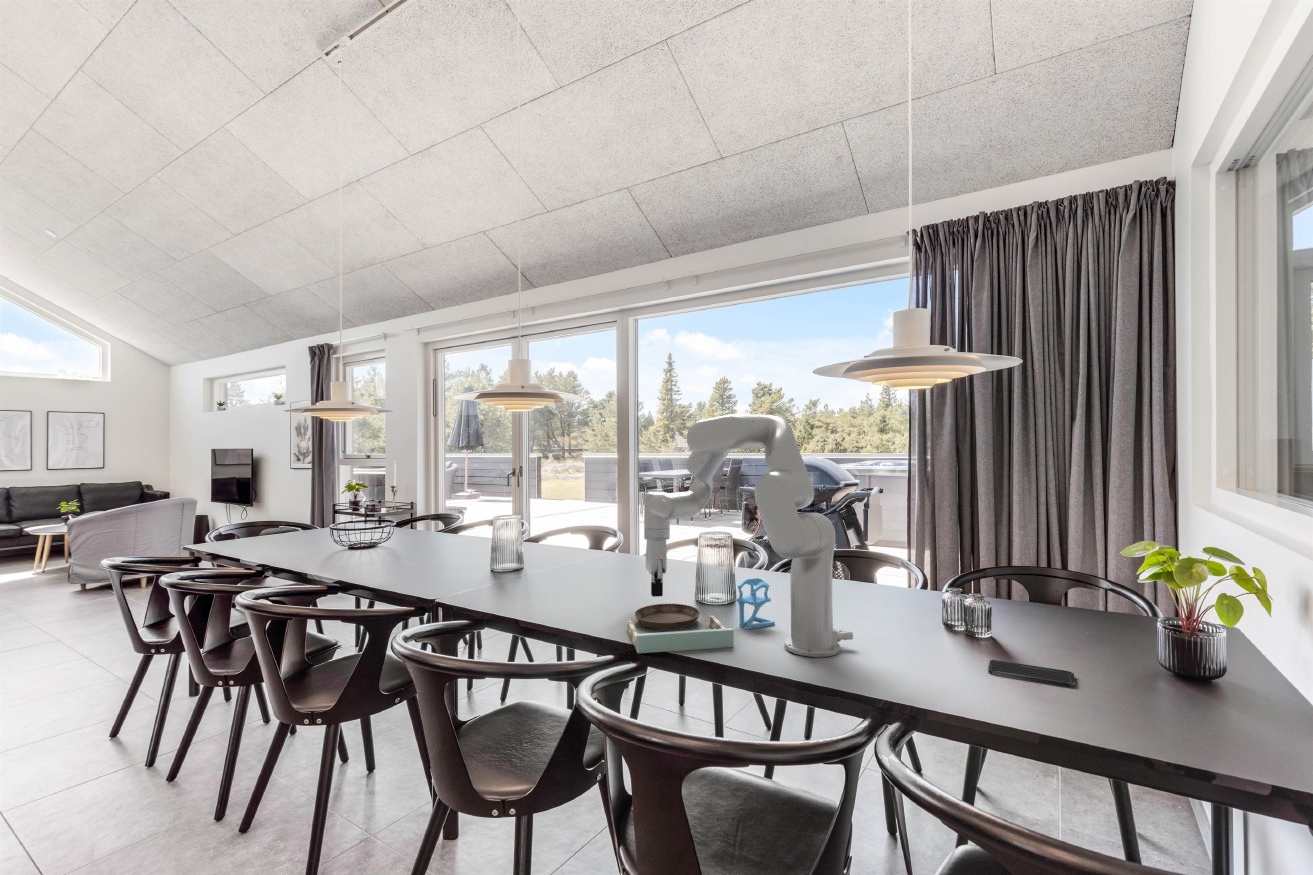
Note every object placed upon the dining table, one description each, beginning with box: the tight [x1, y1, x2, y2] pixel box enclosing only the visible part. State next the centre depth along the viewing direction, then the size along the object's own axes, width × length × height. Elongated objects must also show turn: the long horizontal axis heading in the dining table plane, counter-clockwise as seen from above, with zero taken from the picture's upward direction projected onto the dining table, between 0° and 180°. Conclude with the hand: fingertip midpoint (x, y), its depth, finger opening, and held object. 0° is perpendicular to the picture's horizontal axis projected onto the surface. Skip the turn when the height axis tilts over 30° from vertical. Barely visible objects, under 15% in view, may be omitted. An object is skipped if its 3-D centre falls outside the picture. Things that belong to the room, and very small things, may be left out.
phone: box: [987, 659, 1076, 689], centre depth 126 cm, size 8×1×15 cm
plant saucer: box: [634, 603, 701, 631], centre depth 166 cm, size 18×18×3 cm
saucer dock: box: [627, 615, 735, 654], centre depth 152 cm, size 18×23×4 cm
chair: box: [735, 578, 776, 630], centre depth 163 cm, size 8×8×12 cm
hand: (656, 595), depth 181 cm, fingers closed
